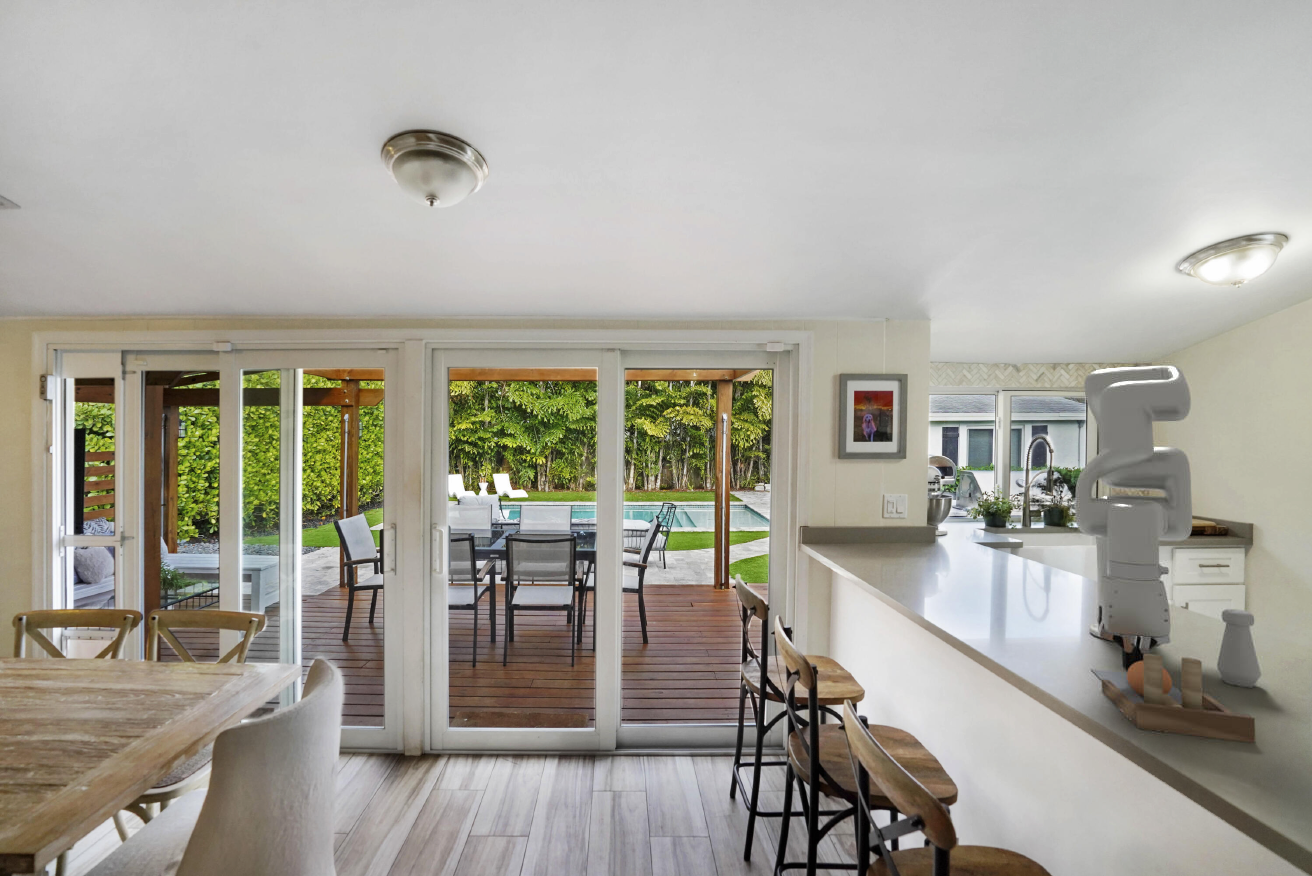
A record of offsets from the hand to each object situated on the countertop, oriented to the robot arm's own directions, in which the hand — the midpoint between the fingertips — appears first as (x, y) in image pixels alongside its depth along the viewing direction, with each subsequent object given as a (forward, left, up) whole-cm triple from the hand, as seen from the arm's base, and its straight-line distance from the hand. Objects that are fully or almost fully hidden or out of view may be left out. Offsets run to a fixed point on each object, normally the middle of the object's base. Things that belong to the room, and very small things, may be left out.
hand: (1133, 672), depth 114 cm
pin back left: (+15, +3, -2) cm, 16 cm away
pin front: (+12, 0, 0) cm, 12 cm away
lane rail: (+15, 0, -2) cm, 15 cm away
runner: (+9, 0, -2) cm, 9 cm away
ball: (+8, 0, +2) cm, 8 cm away
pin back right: (+15, -2, -2) cm, 16 cm away
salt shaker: (-5, +18, -2) cm, 18 cm away
